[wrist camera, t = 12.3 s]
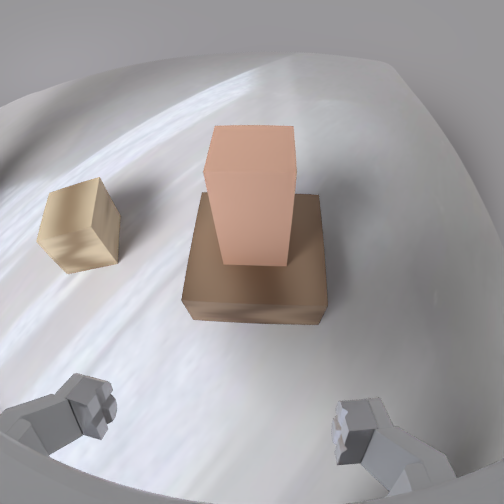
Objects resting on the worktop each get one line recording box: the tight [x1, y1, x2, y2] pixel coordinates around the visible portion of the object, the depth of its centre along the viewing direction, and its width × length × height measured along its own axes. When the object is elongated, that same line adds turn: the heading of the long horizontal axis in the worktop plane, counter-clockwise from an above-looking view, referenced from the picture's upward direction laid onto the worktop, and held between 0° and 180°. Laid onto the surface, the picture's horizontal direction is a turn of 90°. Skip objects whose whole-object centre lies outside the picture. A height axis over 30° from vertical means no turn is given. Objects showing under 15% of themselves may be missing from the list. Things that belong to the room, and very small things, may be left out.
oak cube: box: [36, 177, 121, 274], centre depth 26 cm, size 6×6×6 cm
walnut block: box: [181, 192, 328, 325], centre depth 25 cm, size 10×10×4 cm
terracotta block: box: [203, 125, 297, 266], centre depth 19 cm, size 4×4×9 cm
